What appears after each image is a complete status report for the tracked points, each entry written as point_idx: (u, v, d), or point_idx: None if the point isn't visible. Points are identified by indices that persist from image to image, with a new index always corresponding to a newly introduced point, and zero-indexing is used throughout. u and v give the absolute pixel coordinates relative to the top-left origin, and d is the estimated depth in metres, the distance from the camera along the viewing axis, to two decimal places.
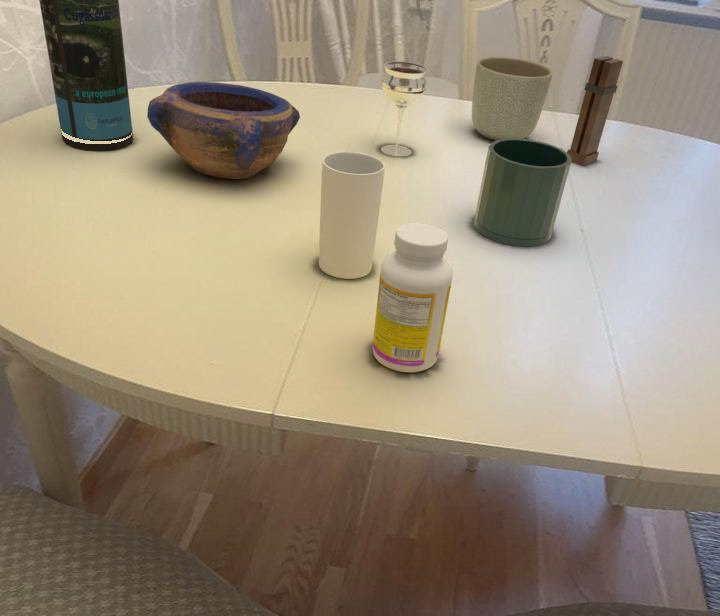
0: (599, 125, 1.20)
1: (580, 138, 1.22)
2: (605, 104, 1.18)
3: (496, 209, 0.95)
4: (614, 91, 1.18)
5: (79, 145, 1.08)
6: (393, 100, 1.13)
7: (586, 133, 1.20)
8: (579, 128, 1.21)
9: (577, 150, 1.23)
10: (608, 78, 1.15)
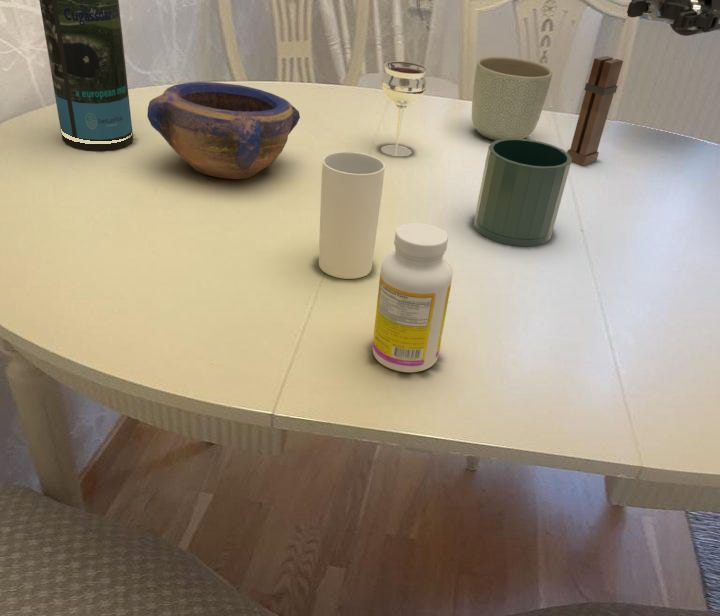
0: (599, 125, 1.20)
1: (580, 138, 1.22)
2: (605, 104, 1.18)
3: (496, 209, 0.95)
4: (614, 91, 1.18)
5: (79, 145, 1.08)
6: (393, 100, 1.13)
7: (586, 133, 1.20)
8: (579, 128, 1.21)
9: (577, 150, 1.23)
10: (608, 78, 1.15)
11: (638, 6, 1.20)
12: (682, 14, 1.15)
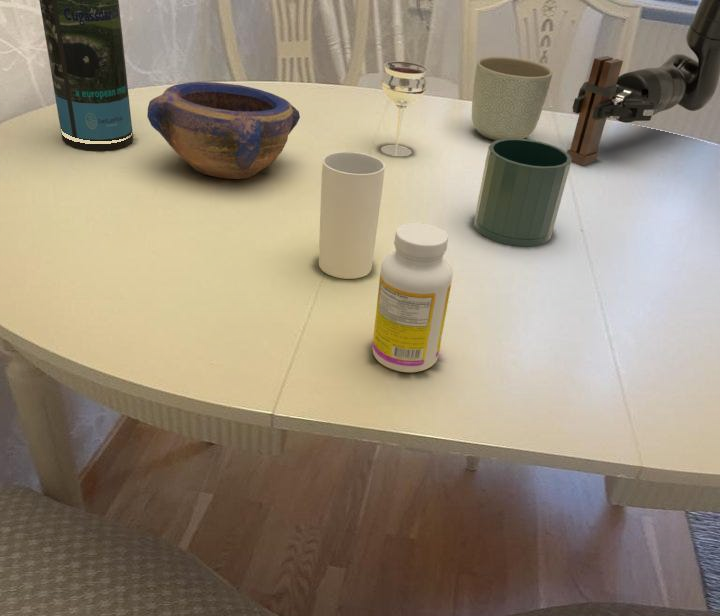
0: (599, 125, 1.20)
1: (580, 138, 1.22)
2: None
3: (496, 209, 0.95)
4: (614, 91, 1.18)
5: (79, 145, 1.08)
6: (393, 100, 1.13)
7: (586, 133, 1.20)
8: (579, 128, 1.21)
9: (577, 150, 1.23)
10: (607, 78, 1.15)
11: None
12: (598, 105, 1.16)
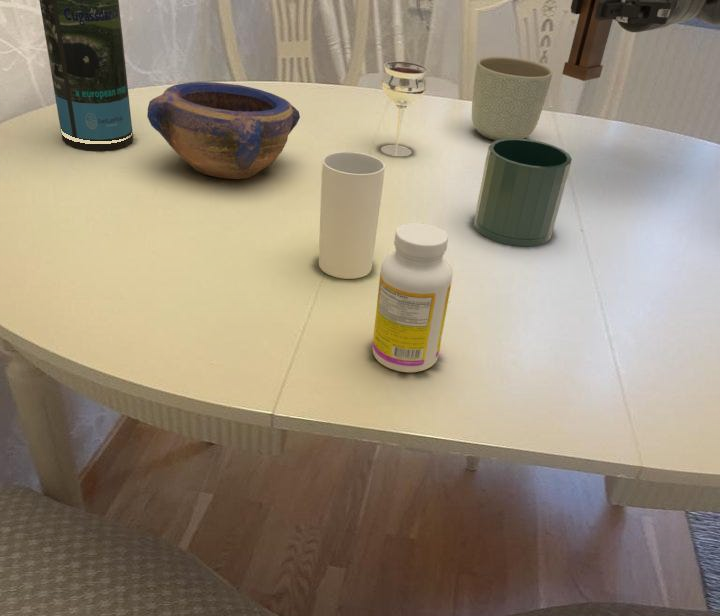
0: (604, 29, 0.98)
1: (580, 46, 1.00)
2: None
3: (496, 209, 0.95)
4: None
5: (79, 145, 1.08)
6: (393, 100, 1.13)
7: (587, 39, 0.99)
8: (579, 34, 0.99)
9: (576, 62, 1.01)
10: None
11: None
12: (601, 1, 0.94)
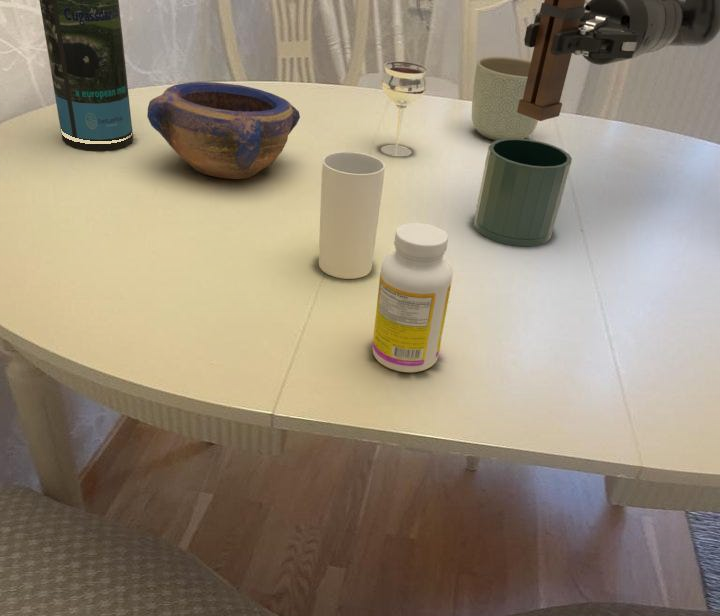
0: (562, 64, 0.87)
1: (536, 83, 0.89)
2: None
3: (496, 209, 0.95)
4: (581, 15, 0.84)
5: (79, 145, 1.08)
6: (393, 100, 1.13)
7: (543, 74, 0.87)
8: (534, 69, 0.88)
9: (532, 100, 0.90)
10: None
11: None
12: (557, 34, 0.83)
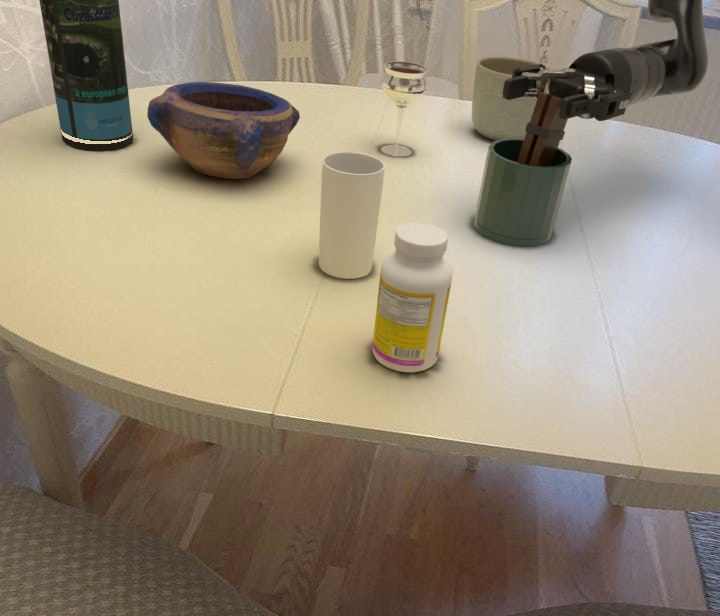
0: None
1: None
2: (549, 151, 0.95)
3: (496, 209, 0.95)
4: (561, 137, 0.95)
5: (79, 145, 1.08)
6: (393, 100, 1.13)
7: None
8: None
9: None
10: (554, 118, 0.92)
11: (516, 85, 0.92)
12: (566, 99, 0.86)
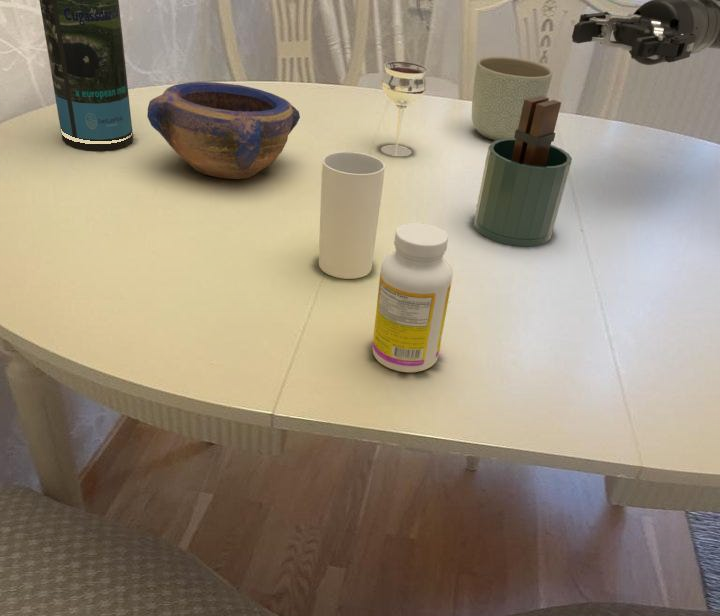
0: None
1: None
2: (541, 155, 0.94)
3: (496, 209, 0.95)
4: (551, 139, 0.93)
5: (79, 145, 1.08)
6: (393, 100, 1.13)
7: None
8: None
9: None
10: (541, 125, 0.90)
11: (586, 29, 0.96)
12: (639, 40, 0.90)
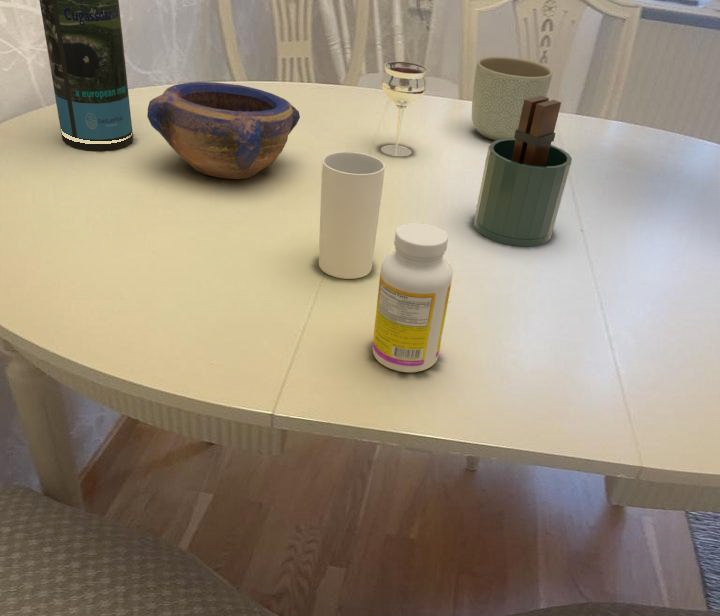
0: None
1: None
2: (541, 155, 0.94)
3: (496, 209, 0.95)
4: (551, 139, 0.93)
5: (79, 145, 1.08)
6: (393, 100, 1.13)
7: None
8: None
9: None
10: (541, 125, 0.90)
11: None
12: None
